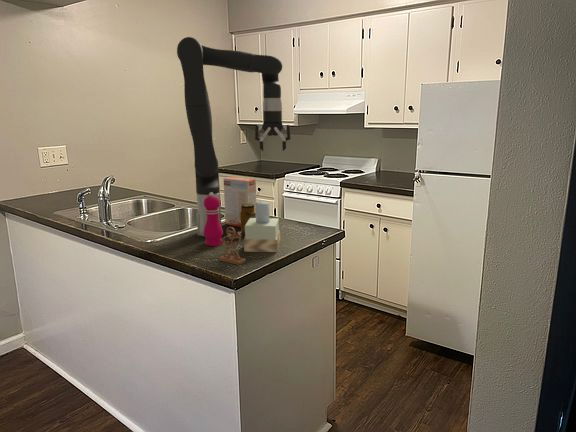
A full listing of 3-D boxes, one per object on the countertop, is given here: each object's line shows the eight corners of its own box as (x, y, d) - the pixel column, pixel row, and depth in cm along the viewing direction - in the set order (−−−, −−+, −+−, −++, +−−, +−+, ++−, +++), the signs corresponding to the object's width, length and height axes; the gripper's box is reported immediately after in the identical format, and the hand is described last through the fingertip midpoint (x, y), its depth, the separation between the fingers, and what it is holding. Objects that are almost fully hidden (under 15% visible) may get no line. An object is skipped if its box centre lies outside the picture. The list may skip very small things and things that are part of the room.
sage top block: (245, 239, 157) (244, 225, 156) (250, 230, 167) (250, 218, 166) (275, 239, 156) (275, 226, 155) (278, 231, 167) (278, 218, 165)
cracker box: (257, 226, 190) (256, 178, 185) (248, 229, 186) (246, 180, 180) (234, 221, 198) (232, 175, 193) (224, 224, 194) (222, 177, 188)
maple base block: (244, 252, 158) (243, 239, 156) (249, 242, 169) (249, 230, 168) (277, 253, 157) (277, 239, 156) (280, 242, 168) (280, 230, 167)
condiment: (252, 230, 184) (251, 202, 182) (261, 235, 177) (260, 206, 174) (236, 232, 181) (235, 204, 178) (245, 237, 174) (244, 208, 171)
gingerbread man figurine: (218, 260, 149) (216, 226, 146) (226, 256, 152) (224, 223, 149) (239, 265, 144) (237, 230, 141) (246, 261, 148) (245, 227, 145)
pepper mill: (214, 239, 172) (212, 189, 167) (227, 243, 167) (225, 191, 162) (200, 244, 166) (197, 192, 162) (213, 247, 162) (210, 195, 157)
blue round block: (254, 223, 159) (254, 204, 157) (257, 219, 164) (257, 201, 162) (268, 223, 158) (267, 204, 156) (270, 220, 163) (270, 201, 161)
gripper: (253, 110, 171) (254, 151, 175) (289, 109, 171) (290, 151, 175) (255, 110, 178) (256, 149, 182) (290, 109, 178) (290, 149, 182)
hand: (273, 150), depth 178 cm, fingers open, 8 cm apart
